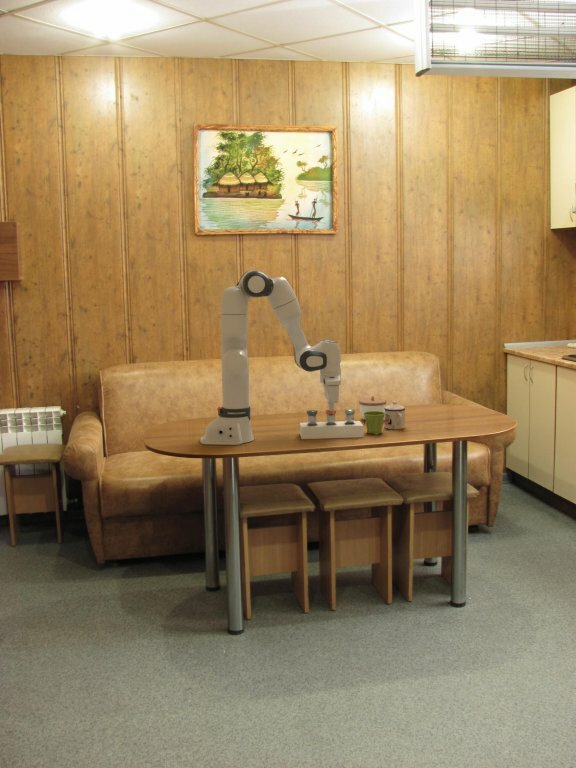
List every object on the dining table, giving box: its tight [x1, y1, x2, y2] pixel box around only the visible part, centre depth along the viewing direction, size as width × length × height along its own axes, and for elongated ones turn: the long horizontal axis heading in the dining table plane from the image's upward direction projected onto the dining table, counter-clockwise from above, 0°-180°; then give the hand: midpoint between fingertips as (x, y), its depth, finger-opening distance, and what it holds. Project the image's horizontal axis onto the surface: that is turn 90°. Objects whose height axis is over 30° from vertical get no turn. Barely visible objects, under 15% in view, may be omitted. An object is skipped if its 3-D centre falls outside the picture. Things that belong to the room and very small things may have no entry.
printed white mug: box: [384, 401, 406, 430], centre depth 354 cm, size 12×9×12 cm
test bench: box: [299, 420, 364, 440], centre depth 342 cm, size 26×10×5 cm, turn 93°
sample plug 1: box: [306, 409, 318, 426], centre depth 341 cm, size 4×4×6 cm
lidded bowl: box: [358, 395, 387, 420], centre depth 374 cm, size 13×13×11 cm
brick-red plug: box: [325, 409, 337, 425], centre depth 341 cm, size 4×4×6 cm
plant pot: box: [363, 411, 385, 435], centre depth 346 cm, size 9×9×9 cm
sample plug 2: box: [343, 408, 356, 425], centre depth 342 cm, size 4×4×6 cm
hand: (331, 410), depth 341 cm, fingers closed, pressing on brick-red plug
